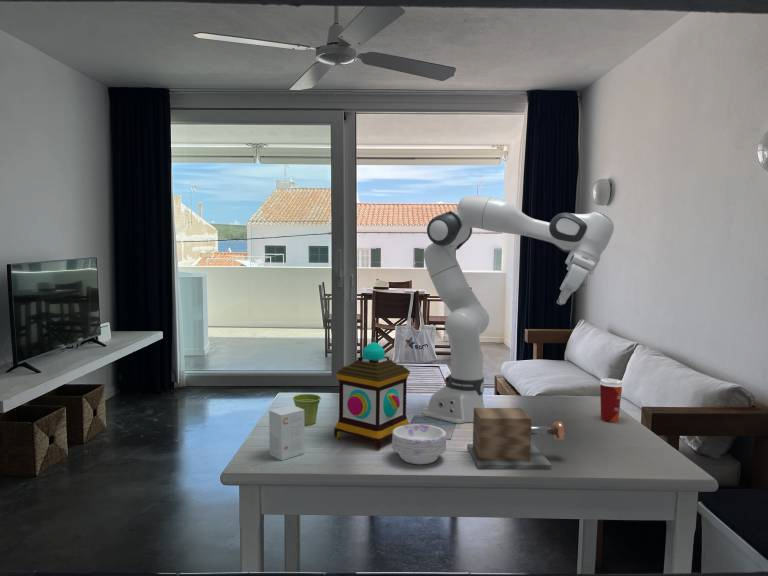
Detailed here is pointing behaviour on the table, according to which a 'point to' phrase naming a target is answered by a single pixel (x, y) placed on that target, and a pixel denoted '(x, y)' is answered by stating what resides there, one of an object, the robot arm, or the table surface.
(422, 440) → the paper bowls
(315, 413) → the plant pot
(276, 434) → the small box
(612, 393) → the paper cup
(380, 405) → the decorative lantern
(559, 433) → the plunger
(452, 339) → the robot arm
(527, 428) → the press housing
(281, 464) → the table surface
